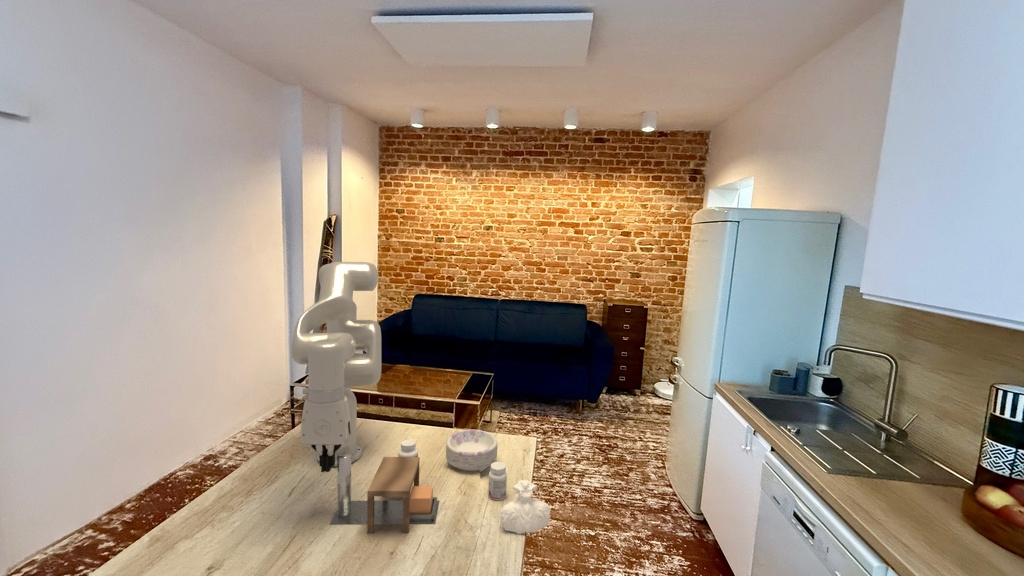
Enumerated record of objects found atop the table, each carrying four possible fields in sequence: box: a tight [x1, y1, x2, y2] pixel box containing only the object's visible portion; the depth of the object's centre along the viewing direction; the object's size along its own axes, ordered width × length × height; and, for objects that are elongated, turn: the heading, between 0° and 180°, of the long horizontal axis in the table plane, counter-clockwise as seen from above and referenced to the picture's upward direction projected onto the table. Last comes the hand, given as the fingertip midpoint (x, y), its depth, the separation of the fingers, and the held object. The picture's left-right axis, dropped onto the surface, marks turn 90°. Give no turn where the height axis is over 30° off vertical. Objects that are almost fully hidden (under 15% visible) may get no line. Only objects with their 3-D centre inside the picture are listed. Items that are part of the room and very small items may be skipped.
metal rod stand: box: [328, 452, 440, 526], centre depth 101 cm, size 24×9×15 cm, turn 94°
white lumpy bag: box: [499, 479, 551, 535], centre depth 100 cm, size 12×8×11 cm
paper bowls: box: [445, 429, 498, 473], centre depth 126 cm, size 15×15×8 cm
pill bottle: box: [487, 461, 508, 501], centre depth 111 cm, size 5×5×8 cm
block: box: [410, 485, 434, 514], centre depth 102 cm, size 5×5×5 cm
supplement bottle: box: [397, 439, 419, 457], centre depth 119 cm, size 5×5×10 cm
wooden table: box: [366, 456, 421, 534], centre depth 101 cm, size 30×23×11 cm
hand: (327, 469), depth 99 cm, fingers closed
